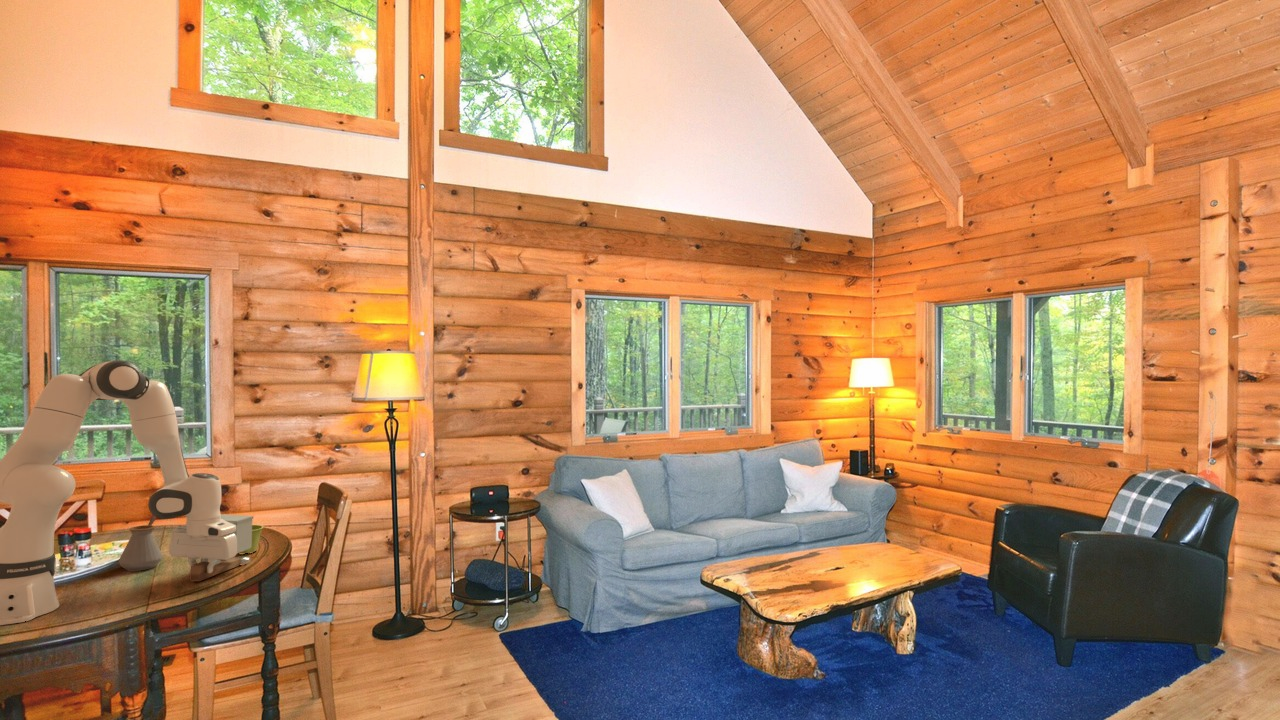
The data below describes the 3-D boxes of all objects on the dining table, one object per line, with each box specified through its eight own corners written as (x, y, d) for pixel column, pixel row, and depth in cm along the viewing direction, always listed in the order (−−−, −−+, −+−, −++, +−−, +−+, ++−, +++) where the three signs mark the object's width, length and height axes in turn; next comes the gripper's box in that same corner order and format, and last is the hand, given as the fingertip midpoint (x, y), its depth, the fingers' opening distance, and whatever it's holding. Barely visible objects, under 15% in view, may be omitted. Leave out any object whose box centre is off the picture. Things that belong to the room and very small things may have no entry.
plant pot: (241, 548, 238) (242, 524, 238) (267, 549, 238) (268, 524, 238) (225, 555, 229) (226, 530, 229) (252, 556, 229) (253, 531, 229)
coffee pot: (156, 571, 211) (157, 523, 211) (112, 574, 206) (113, 526, 207) (176, 553, 231) (177, 509, 231) (136, 555, 226) (137, 511, 227)
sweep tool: (199, 581, 200) (199, 566, 201) (190, 580, 201) (190, 565, 201) (240, 564, 218) (241, 551, 218) (232, 564, 218) (232, 550, 218)
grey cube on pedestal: (235, 574, 209) (237, 521, 209) (199, 572, 211) (201, 519, 211) (251, 567, 217) (253, 516, 217) (216, 565, 218) (218, 514, 218)
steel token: (233, 567, 217) (234, 561, 217) (231, 563, 221) (231, 557, 221) (251, 564, 220) (251, 558, 220) (248, 561, 224) (248, 555, 224)
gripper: (164, 527, 202) (162, 573, 202) (226, 531, 199) (224, 577, 199) (180, 522, 208) (179, 566, 208) (241, 526, 206) (239, 571, 205)
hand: (202, 572), depth 203 cm, fingers closed on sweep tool, 3 cm apart
